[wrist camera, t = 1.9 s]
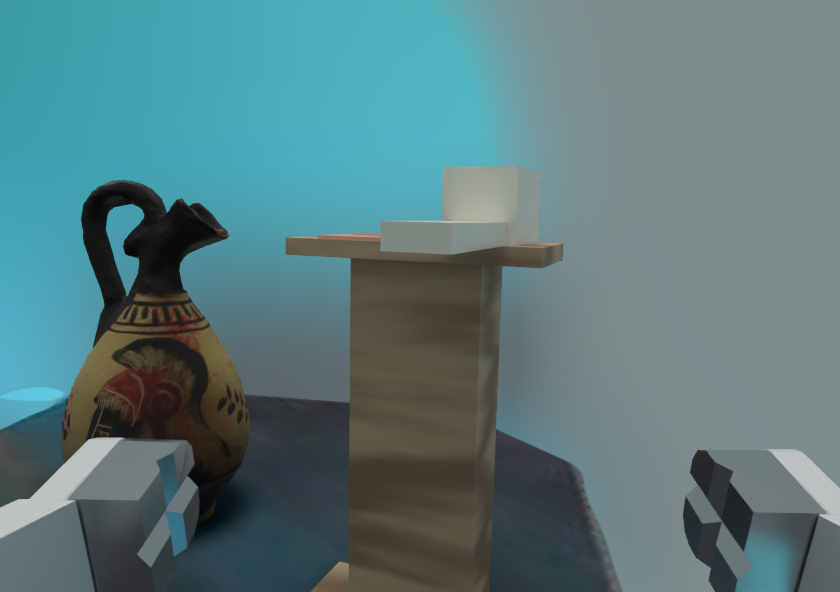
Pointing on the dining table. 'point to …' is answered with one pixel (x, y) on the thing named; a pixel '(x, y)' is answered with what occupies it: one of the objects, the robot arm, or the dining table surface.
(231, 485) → the dining table surface
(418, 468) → the wooden post with base
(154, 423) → the ceramic jug
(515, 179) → the white block with handle
